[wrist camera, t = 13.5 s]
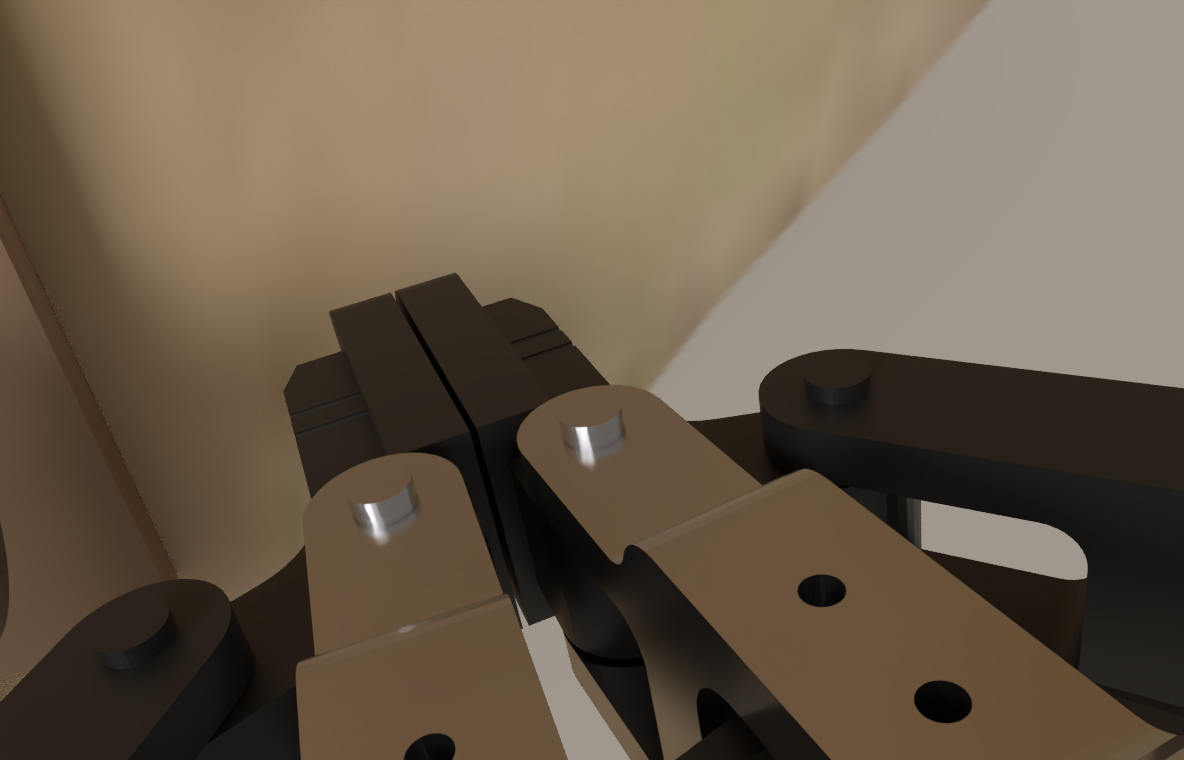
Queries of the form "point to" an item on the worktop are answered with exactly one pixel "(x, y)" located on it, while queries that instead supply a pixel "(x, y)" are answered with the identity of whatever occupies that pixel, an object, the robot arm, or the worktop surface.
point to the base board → (58, 479)
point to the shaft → (3, 584)
